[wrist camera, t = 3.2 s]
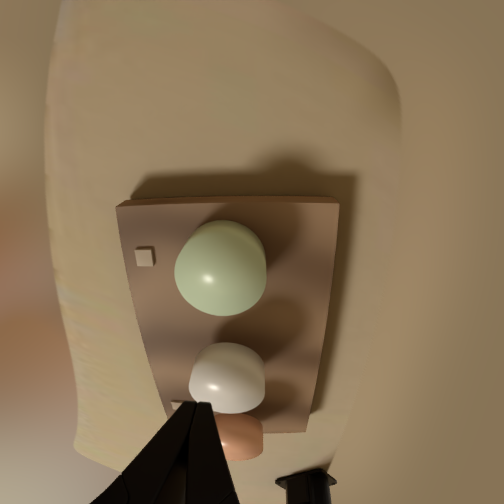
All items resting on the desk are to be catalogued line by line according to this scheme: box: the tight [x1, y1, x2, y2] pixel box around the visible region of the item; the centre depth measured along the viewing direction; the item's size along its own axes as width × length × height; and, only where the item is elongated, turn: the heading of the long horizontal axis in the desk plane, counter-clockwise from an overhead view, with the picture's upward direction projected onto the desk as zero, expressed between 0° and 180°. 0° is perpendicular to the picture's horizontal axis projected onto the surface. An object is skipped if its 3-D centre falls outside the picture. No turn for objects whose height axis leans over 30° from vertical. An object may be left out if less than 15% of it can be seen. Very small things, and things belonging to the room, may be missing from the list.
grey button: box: [189, 342, 265, 414], centre depth 17 cm, size 4×4×2 cm
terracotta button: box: [214, 413, 263, 461], centre depth 20 cm, size 4×4×2 cm
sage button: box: [174, 220, 267, 316], centre depth 15 cm, size 4×4×2 cm
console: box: [116, 196, 340, 433], centre depth 20 cm, size 20×12×2 cm, turn 1°
